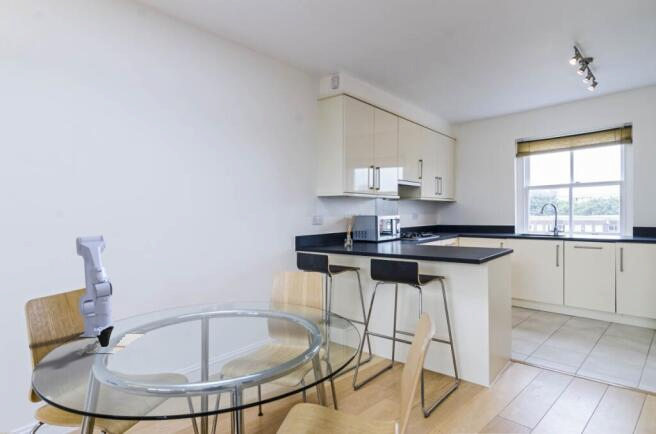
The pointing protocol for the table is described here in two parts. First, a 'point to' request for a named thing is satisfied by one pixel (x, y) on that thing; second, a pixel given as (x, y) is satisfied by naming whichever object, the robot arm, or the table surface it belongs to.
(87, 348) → the soldier figure
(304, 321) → the table surface
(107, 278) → the robot arm
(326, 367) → the table surface
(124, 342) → the mat
